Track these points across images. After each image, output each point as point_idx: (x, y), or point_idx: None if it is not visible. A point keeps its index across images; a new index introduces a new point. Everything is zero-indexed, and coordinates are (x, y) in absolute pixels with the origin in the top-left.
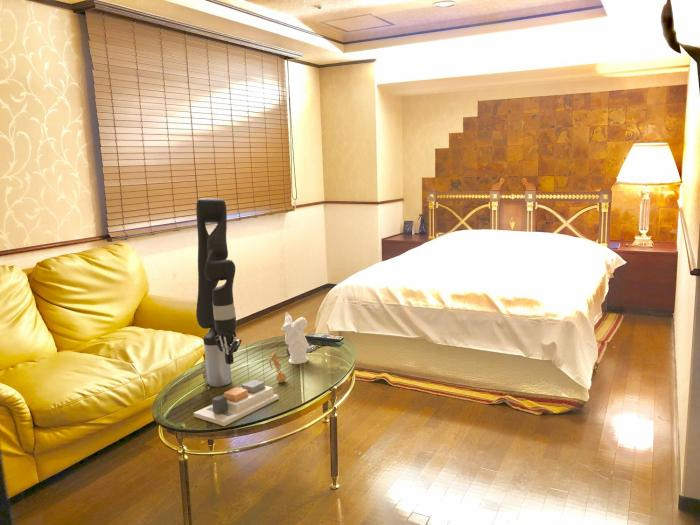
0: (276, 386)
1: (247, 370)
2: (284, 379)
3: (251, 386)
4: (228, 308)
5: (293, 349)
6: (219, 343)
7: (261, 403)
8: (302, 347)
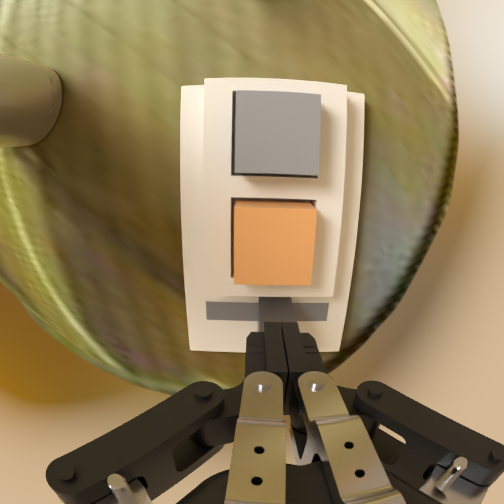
0: (255, 6)
1: None
2: None
3: (302, 167)
4: None
5: None
6: (169, 482)
7: (360, 186)
8: None
